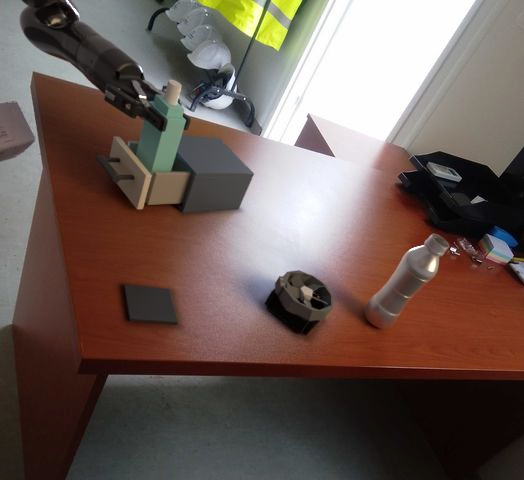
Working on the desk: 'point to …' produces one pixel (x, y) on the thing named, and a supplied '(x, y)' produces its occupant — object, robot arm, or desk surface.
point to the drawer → (144, 176)
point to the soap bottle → (162, 143)
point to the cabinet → (212, 175)
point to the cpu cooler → (300, 300)
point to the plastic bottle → (405, 282)
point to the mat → (150, 305)
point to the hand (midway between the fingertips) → (176, 125)
